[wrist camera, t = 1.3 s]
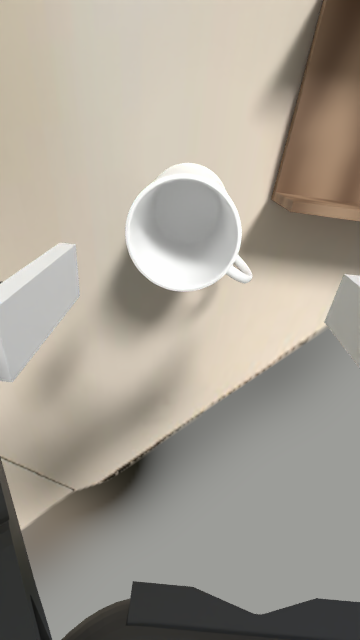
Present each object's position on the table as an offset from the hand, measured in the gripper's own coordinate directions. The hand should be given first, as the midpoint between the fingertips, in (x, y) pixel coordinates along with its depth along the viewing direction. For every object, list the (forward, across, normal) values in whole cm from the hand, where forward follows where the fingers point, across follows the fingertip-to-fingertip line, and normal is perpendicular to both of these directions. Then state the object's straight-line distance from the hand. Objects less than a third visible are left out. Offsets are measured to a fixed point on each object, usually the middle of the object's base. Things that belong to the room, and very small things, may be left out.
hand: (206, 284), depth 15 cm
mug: (+19, 0, -1) cm, 19 cm away
